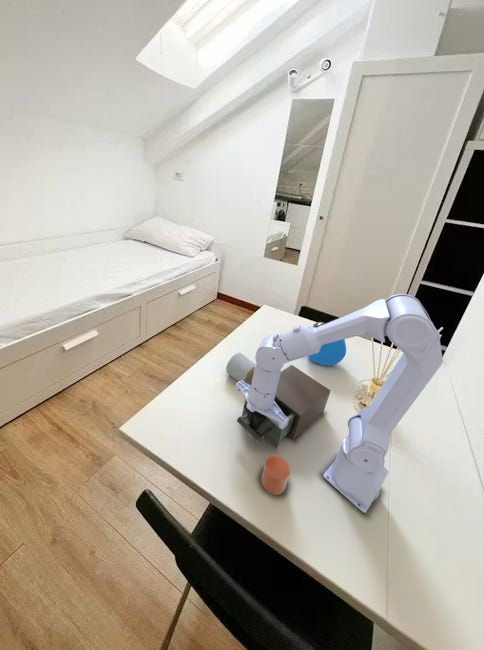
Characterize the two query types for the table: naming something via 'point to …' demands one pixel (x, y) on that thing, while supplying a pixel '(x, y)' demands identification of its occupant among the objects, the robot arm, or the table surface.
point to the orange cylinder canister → (275, 475)
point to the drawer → (269, 426)
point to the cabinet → (301, 398)
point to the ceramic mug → (241, 368)
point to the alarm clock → (329, 351)
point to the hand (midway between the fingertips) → (254, 428)
